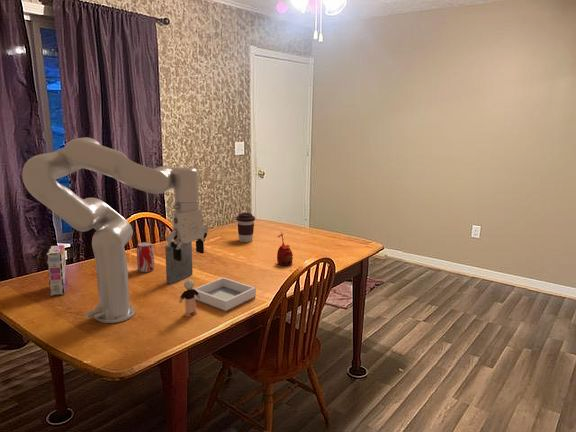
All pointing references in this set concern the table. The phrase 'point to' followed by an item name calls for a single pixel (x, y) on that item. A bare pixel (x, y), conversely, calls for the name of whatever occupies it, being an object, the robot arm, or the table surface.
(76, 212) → the robot arm
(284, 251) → the dark red rounded piece
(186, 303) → the grandmother figurine
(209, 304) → the shadow box frame
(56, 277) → the candy bar box
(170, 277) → the flask
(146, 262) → the soda can
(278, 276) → the table surface
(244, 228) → the coffee cup
